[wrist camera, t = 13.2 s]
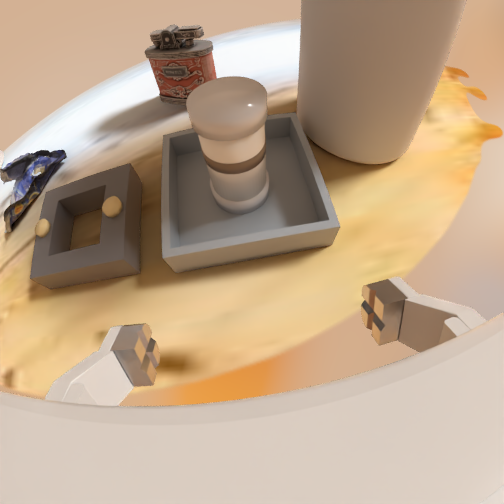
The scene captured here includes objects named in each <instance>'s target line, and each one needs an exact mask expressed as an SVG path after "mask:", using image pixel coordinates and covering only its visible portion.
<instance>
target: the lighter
mask: <svg viewBox="0 0 504 504" xmlns="http://www.w3.org/2000/svg"><path fill="white" fill-rule="evenodd" d="M203 35H204V32H203V27H200V25H194V26H182V27H181V28H179V27H178V26H177V25H170V26H169V27H167V28H166V29H163V30H156V31H153V32H152V33H150V37H151V40H152V42H153V43H154V45H153V46H150V47H149V48H147V49H146V50H145V54H146V57H147V58H149V61H150V64H151V67H152V70H153V73H154V76H155V79H156V82H157V85H158V87H159V90H160V94H159V95H160V98H161V100H162V101H163V102H167V103H172V104H180V105H186V101H187V98H188V96H189V95H190V94H191V92H192V91H193V90H195V89H196V88H197V87H199V86H200V85H202V84H204V83H206V82H208V81H211V80H214V79H217V78H216V72H215V66H214V61H213V55H212V50H213V45H212V42H211V41H206V40H193V39H194V38H201V37H202V36H203Z"/></svg>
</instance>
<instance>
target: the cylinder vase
mask: <svg viewBox="0 0 504 504" xmlns="http://www.w3.org/2000/svg"><path fill="white" fill-rule="evenodd" d="M465 4H466V0H302V1H301V35H300V59H299V79H298V96H297V117H298V119H299V122H300V124H301V126H302V128H303V131H304V132H305V133H306V135H307V136H308V137H309V138H310V139H311V140H312V141H313V142H314V143H316V144H317V145H318V146H320V147H321V148H323V149H324V150H326V151H328V152H330V153H331V154H333V155H336V156H338V157H340V158H343V159H346V160H349V161H353V162H358V163H364V164H382V163H387V162H391V161H394V160H396V159H398V158H399V157H401V156H402V155H403V154H404V153H405V152H406V151H407V149H408V148H409V146H410V144H411V142H412V140H413V138H414V136H415V133H416V131H417V129H418V127H419V125H420V123H421V121H422V119H423V116H424V114H425V112H426V110H427V108H428V105H429V103H430V101H431V98H432V96H433V94H434V91H435V89H436V87H437V84H438V82H439V79H440V77H441V74H442V72H443V69H444V67H445V64H446V61H447V59H448V56H449V53H450V50H451V47H452V45H453V42H454V39H455V36H456V33H457V30H458V27H459V24H460V21H461V17H462V14H463V11H464V7H465Z"/></svg>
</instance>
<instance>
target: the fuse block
mask: <svg viewBox="0 0 504 504" xmlns="http://www.w3.org/2000/svg"><path fill="white" fill-rule="evenodd" d="M141 198H142V182H141V180H140V178H139V177H138V175H137V173H136V172H135V170H134V168H133V167H132V165H131V163H129V164H126V165H122V166H119V167H116V168H113V169H109V170H106V171H103V172H100V173H97V174H94V175H91V176H88V177H86V178H83V179H80V180H77V181H74V182H72V183H69V184H66V185H64V186H61V187H58V188H56V189H53V190H51V191H48V192H46V194H45V198H44V202H43V206H42V211H41V215H40V220H39V222H38V223H37V225H36V227H35V233H36V234H37V235H36V240H35V246H34V252H33V259H32V267H31V275H30V279H32V280H34V281H35V282H37V283H39V284H41V285H43V286H45V287H47V288H49V289H54V288H60V287H66V286H71V285H77V284H83V283H88V282H94V281H99V280H105V279H111V278H116V277H122V276H128V275H133V274H139V273H140V223H141ZM101 208H102V211H103V212H102V221H101V231H100V243H99V244H94V245H90V246H86V247H82V248H78V249H74V250H70V243H71V235H72V228H73V221H74V216H77V215H80V214H84V213H87V212H90V211H94V210H97V209H101Z"/></svg>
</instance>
